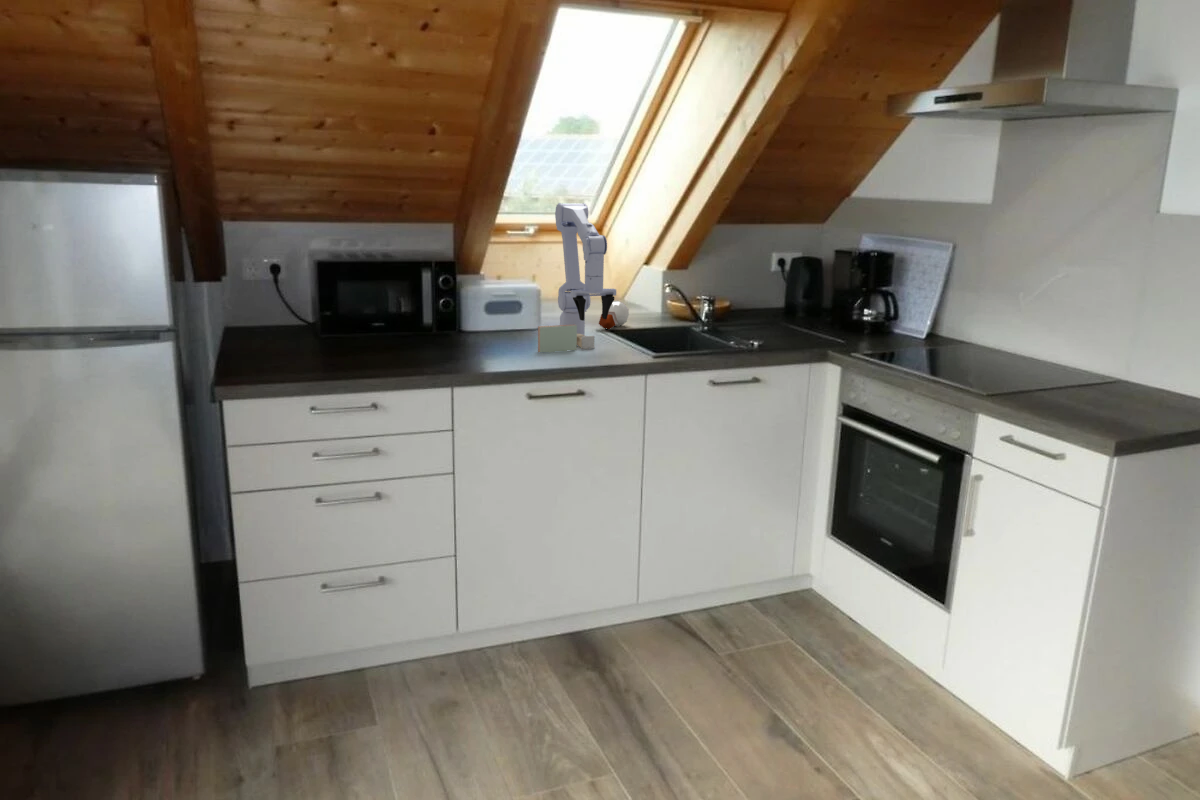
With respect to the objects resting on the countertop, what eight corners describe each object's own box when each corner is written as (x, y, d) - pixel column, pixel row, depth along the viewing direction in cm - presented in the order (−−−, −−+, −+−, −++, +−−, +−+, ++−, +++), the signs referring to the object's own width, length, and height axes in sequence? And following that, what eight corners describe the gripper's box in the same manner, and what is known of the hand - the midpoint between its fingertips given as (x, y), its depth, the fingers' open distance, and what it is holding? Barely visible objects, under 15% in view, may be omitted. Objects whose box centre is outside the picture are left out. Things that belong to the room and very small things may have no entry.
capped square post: (570, 343, 285) (570, 331, 284) (581, 342, 286) (581, 330, 285) (582, 349, 275) (582, 336, 274) (594, 348, 277) (594, 336, 276)
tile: (538, 352, 270) (538, 326, 268) (574, 349, 275) (574, 324, 273) (540, 353, 269) (540, 327, 267) (576, 350, 273) (576, 325, 271)
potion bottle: (623, 327, 322) (610, 339, 309) (602, 311, 322) (589, 322, 309) (637, 309, 318) (625, 320, 304) (616, 292, 318) (603, 302, 305)
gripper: (577, 278, 263) (576, 322, 267) (621, 276, 269) (619, 320, 272) (568, 275, 269) (567, 318, 273) (611, 273, 275) (610, 316, 279)
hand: (593, 319), depth 273 cm, fingers open, 7 cm apart
